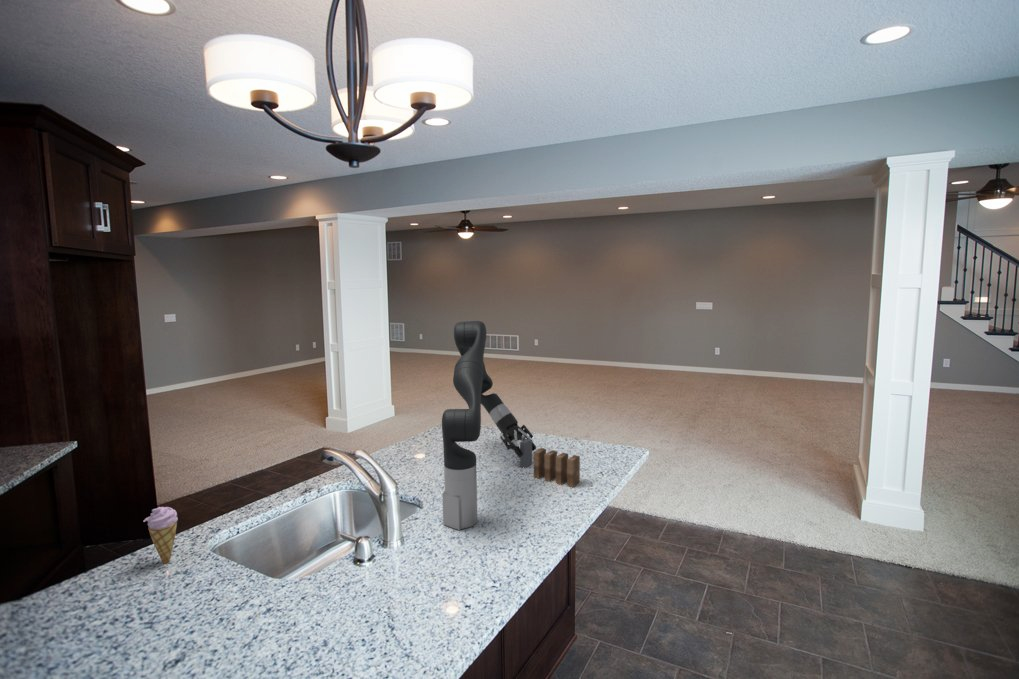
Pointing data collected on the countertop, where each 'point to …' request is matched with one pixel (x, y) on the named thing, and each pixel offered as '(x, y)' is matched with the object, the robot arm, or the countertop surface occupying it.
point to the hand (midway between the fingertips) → (528, 452)
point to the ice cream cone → (163, 530)
